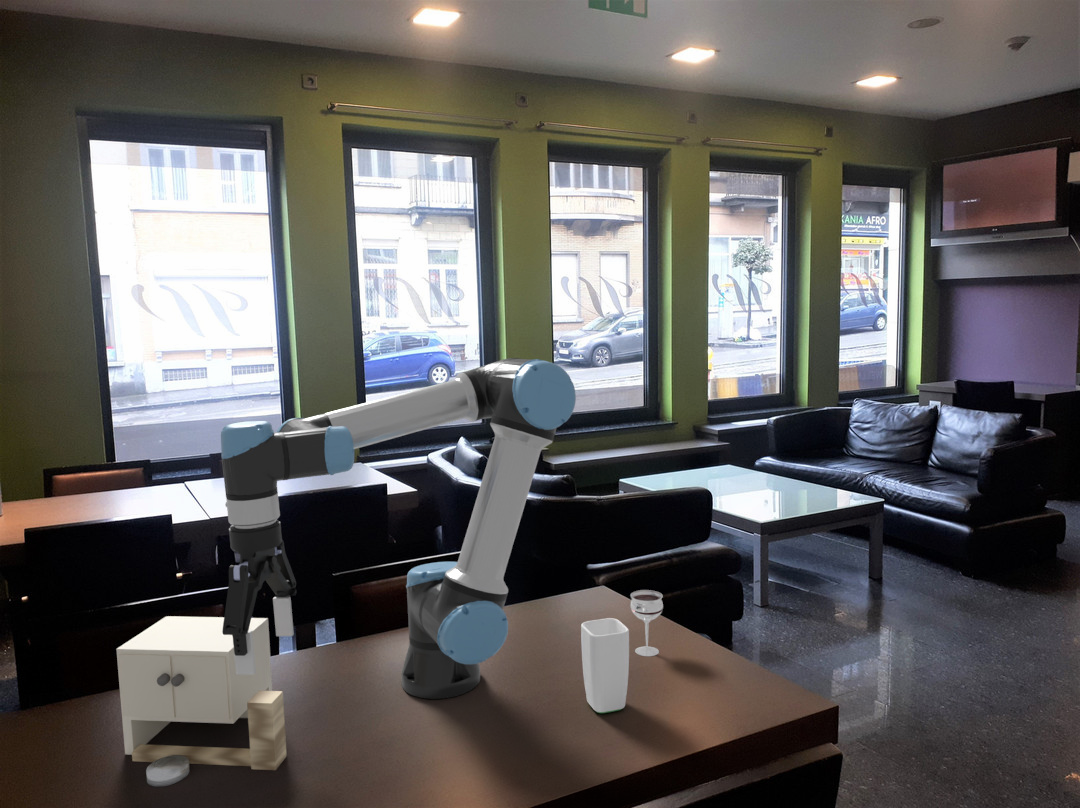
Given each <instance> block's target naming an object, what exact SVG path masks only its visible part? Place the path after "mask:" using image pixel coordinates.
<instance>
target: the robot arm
mask: <svg viewBox="0 0 1080 808" xmlns="http://www.w3.org/2000/svg"><path fill="white" fill-rule="evenodd" d="M576 397H577V396H576V389H575V384H574V383H573V381H572V379H571V377H570V375H569V373H568V372H567V371H566V369H564V368H563V367H561V366H560V365H558V364H557V363H554V362H551V361H547V360H543V359H540V358H539V359H538V358H535V359H526V358H525V359H524V358H519V357H511V358H510V357H509V358H505V359H504V358H503V359H501V360H497V361H494V362H491V363H488V364H484V365H482V366H479V367H475V368H473V369H469V370H466V371H461V372H459V373H457V374H456V376H455V378H454V379H452V380H449V381H448V380H447V381H445V382H441V383H436V384H434V385H429V386H425V387H422V388H418V389H414V390H411V391H410V390H409V391H406V392H402V393H399V394H395V395H394V394H393V395H390V396H387V397H383V398H379V399H375V400H372V401H366V402H364V403H360V404H355V405H352V406H348V407H344V408H340V409H337V410H333V411H329V412H325V413H321V414H317V415H314V416H310V417H306V418H305V417H294V418H289V419H287V420H286V421H284V422H283V423H281V425H280V426H279V427H278V429H277V431H276V432H275V431H274V429H273V426H272V424H271V423H270V422H269V421H267V420H253V421H252V420H251V421H250V420H249V421H248V420H247V421H241V422H240V421H239V422H234V423H230V424H229V423H228V424H227V425H225V426H224V427H223V428H222V430H221V431H220V443H221V444H220V446H221V447H220V449H221V454H220V456H221V457H220V458H221V464H222V473H223V481H224V492H225V498H226V502H225V507H226V508H227V510H226V511H227V520H228V523H229V524H230V526H229V528H228V534H229V535H228V537H229V543H230V549H231V550H232V551H233V552H234V553H235V552H236V553H238V554H239V556H240V558H239V564H235V565H233V564H231V565H230V566H229V567H228V586H227V592H226V593H227V596H226V601H225V602H226V603H225V609H224V611H225V612H224V623H223V630H222V632H223V635H232V636H233V645H234V655H235V666H236V674H255V673H256V667H255V656H254V646H253V635H252V630H249V626H250V622H251V618H253V617H252V616H253V613H254V608H255V604H256V599H257V596H258V592H259V590H261V589H262V588H263V583H264V582H265V581H266V583H267V584H268V587H270V589H271V590H272V591H273V593H274V594H275V596H274V597H273V598H272V605H273V614H274V615H273V616H274V617H273V618H274V625H275V626H274V627H275V636H276V637H293V636H294V635H295V634H294V622H293V613H292V612H293V609H292V600H291V596H296V595H297V588H296V586H297V581H296V578H295V576H294V573H293V570H292V567H291V564H290V562H289V559H288V557H287V553H286V548H285V542H284V540H283V536H282V525H281V521H279V518H280V516H281V511H280V501H279V491H278V482H281V481H288V480H295V479H304V478H311V477H313V478H314V477H320V476H321V477H322V476H329V475H330V476H334V475H336V474H340V473H345V472H349V471H350V470H351V469H352V468H353V466H354V464H355V450H356V449H359V448H363V447H367V446H371V445H375V444H378V443H381V442H385V441H389V440H392V439H396V438H399V437H402V436H406V435H410V434H414V433H416V432H421V431H425V430H428V429H431V428H435V427H438V426H442V425H446V424H450V423H452V422H456V421H460V420H463V419H466V420H467V421H469V422H472V423H473V422H476V421H479V420H483V419H491V420H490V423H489V425H490V427H491V429H492V431H493V432H494V438H493V439H494V440H493V443H492V446H491V449H490V452H489V456H488V459H487V462H486V467H485V469H484V473H483V476H482V480H481V482H480V485H479V486H480V487H479V489H478V492H477V495H476V496H477V497H476V499H475V503H474V506H473V510H472V512H471V517H470V519H469V523H468V527H467V529H466V532H465V537H464V538H463V543H462V546H461V550H460V553H459V556H458V560H457V561H437V562H430V563H424V564H420V565H417V566H414V567H412V568H411V569H410V570H409V571H408V572H407V576H406V585H405V588H406V593H407V594H406V598H407V600H406V601H407V614H408V615H407V616H408V617H407V619H408V640H409V641H408V642H409V643H408V644H409V645H408V648H407V652H406V654H405V655H406V656H405V659H404V663H403V666H402V669H401V686H402V689H403V691H405V692H406V693H408V694H409V695H410V696H414V697H417V698H421V699H430V700H437V699H447V698H453V697H457V696H458V697H459V696H460V695H463V694H466V693H468V692H470V691H471V690H473V689H475V687H477V686H478V685H479V684H480V682H481V667H480V663H483V662H485V661H487V660H488V659H489V658H491V657H494V656H496V654H497V653H498V652H499V651H500V650H501V648H502V647H503V645H505V642H506V640H507V638H508V633H509V620H508V617H507V614H506V612H505V610H504V607H505V603H506V601H507V597H508V593H509V588H508V586H507V585H506V582H505V581H504V577H505V573H506V570H507V567H508V564H509V559H510V557H511V553H512V549H513V545H514V542H515V539H516V536H517V533H518V529H519V526H520V522H521V519H522V517H523V512H524V509H525V506H526V503H527V502H526V501H527V499H528V496H529V493H530V492H529V491H530V489H531V486H532V481H533V478H534V475H535V472H536V469H537V465H538V462H539V458H540V455H541V452H542V450H543V449H544V448H546V447H547V446H549V445H551V444H552V443H553V441H554V438H555V434H556V432H557V428H559V427H561V426H562V425H563V424H564V423H566V422H567V421H568V420H569V419H570V418H571V416H572V415H573V412H574V409H575V406H576V399H577V398H576Z"/></svg>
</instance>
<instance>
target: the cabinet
mask: <svg viewBox="0 0 1080 808" xmlns="http://www.w3.org/2000/svg"><path fill="white" fill-rule="evenodd" d="M223 623H224V617H223V616H219V617H218V616H180V615H179V616H175V615H174V616H171V615H170V616H169V615H168V616H167V615H166V616H164V617H163V618H161V619H160V620H158V621H157V622H155V623H154V624H152V625H151V626H149V627H148V628H146V629H144V630H143V631H142V632H140V633H139V634H137V635H136V636H134V637H132V638H131V639H129V640H128V641H126V642H125V643H123V644H122V645H120V646H118V647H117V648H116V649H115V650H116V658H117V659H116V660H117V670H118V671H117V672H118V674H117V675H118V682H119V683H118V684H119V696H120V698H119V699H120V707H121V709H120V710H121V719H122V720H121V721H122V732H123V744H124V745H123V746H124V755H127V756H128V755H129V756H130V755H131V756H132V752H133V751H134V750H135V749H136V748H137V747H138V746H140V745H141V744H144V745H147V744H148V743H149V742H150V741H151V740H152V739H153V738H155V736H157V735H158V734H160V732H161V731H162V730H163V729H165V728H166V727H167V726H168V725H169V724H170V723H171V722H173V723H174V722H176V723H177V722H180V723H203V724H204V723H206V724H207V723H208V724H235V723H236V722H237V721H238V719H248V708H247V702H248V701H249V700H250V699H251V698H252V697H253V696H254V695H255V694H256V693H257V692H258V691H273V679H272V678H273V677H272V676H273V675H272V661H271V646H270V645H271V643H270V631H269V630H270V629H269V618H268V617H251V622H250V626H249V630H252V635H253V646H254V656H255V667H256V673H255V674H236V666H235V655H234V645H233V636H232V635H223V632H222V630H223Z"/></svg>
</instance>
